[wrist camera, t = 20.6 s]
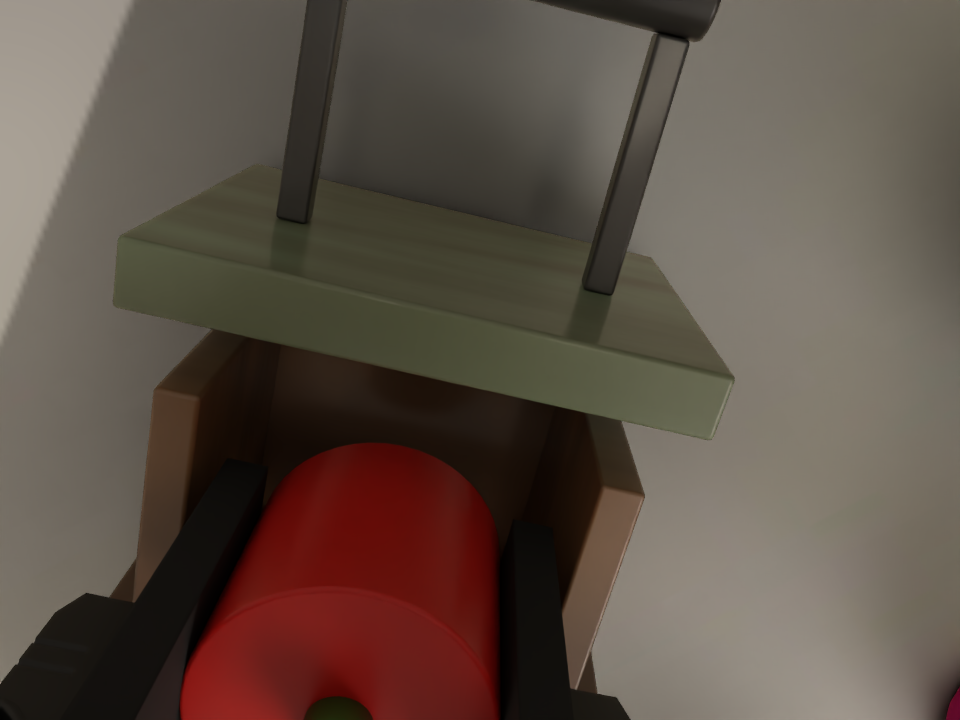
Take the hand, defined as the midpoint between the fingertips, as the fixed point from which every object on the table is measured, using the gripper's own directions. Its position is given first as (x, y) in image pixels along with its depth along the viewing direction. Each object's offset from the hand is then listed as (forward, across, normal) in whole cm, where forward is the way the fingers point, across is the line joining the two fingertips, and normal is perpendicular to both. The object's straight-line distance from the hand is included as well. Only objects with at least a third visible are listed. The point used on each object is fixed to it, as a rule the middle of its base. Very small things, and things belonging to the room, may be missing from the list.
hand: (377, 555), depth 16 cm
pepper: (0, 0, 0) cm, 0 cm away
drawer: (+7, 0, +2) cm, 7 cm away
